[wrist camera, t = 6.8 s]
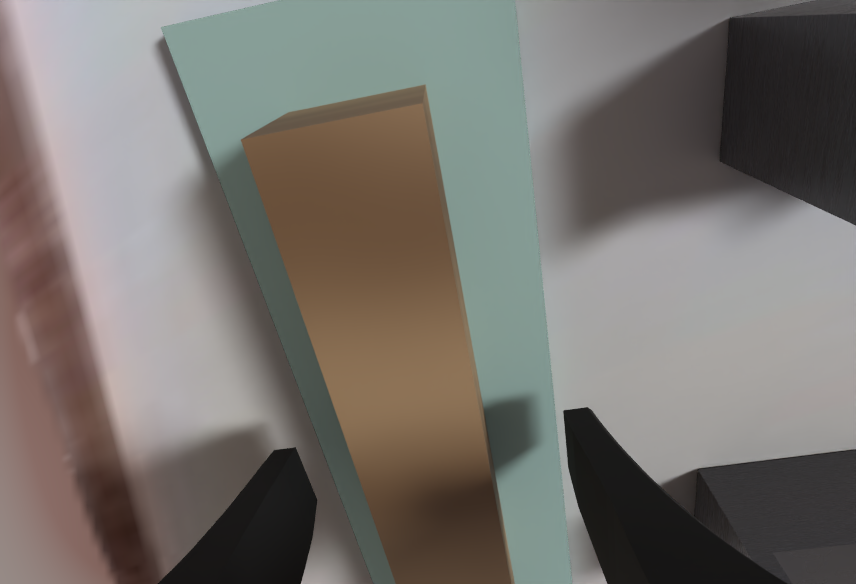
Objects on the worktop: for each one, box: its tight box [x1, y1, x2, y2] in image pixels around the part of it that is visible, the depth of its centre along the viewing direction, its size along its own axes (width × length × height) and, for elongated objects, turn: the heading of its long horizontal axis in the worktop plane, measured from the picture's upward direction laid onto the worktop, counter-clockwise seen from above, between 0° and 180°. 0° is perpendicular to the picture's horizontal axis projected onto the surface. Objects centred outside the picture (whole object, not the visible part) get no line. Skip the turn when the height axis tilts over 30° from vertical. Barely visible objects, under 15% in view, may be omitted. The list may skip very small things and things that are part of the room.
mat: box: [161, 0, 572, 584], centre depth 15 cm, size 22×7×1 cm, turn 11°
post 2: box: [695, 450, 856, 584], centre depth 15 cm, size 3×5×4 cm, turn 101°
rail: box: [241, 84, 515, 584], centre depth 13 cm, size 18×3×3 cm, turn 11°
